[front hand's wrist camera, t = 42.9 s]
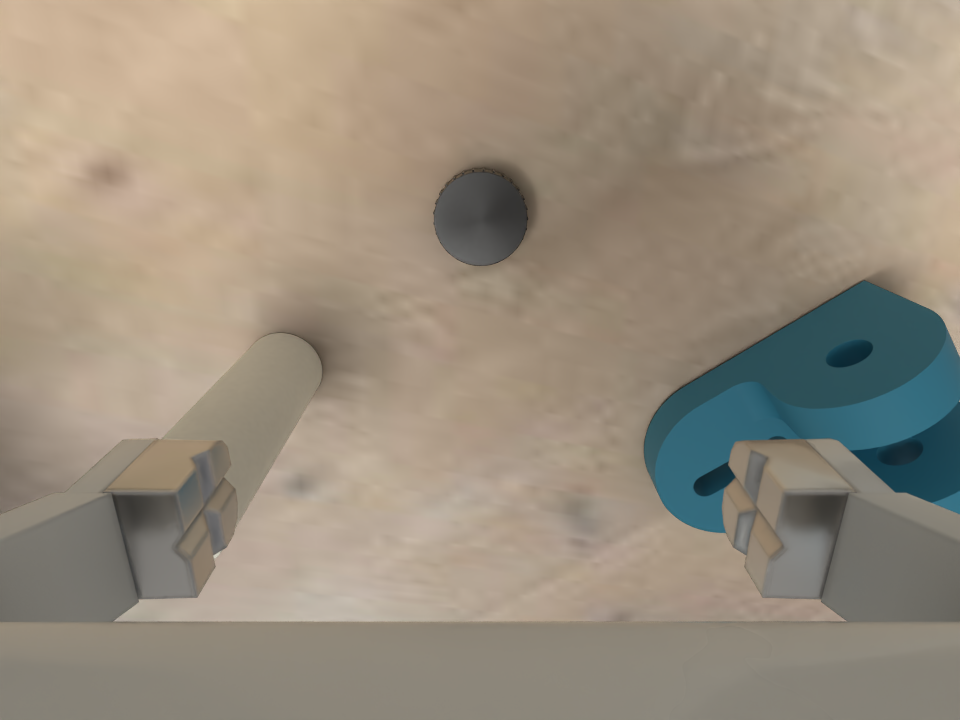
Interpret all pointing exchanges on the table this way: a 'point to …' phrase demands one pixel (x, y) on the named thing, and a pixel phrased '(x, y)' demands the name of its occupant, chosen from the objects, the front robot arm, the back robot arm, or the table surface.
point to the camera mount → (821, 404)
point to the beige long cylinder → (255, 409)
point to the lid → (480, 217)
